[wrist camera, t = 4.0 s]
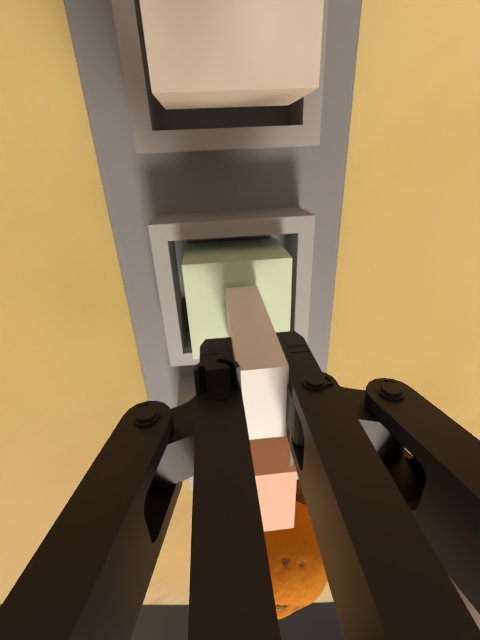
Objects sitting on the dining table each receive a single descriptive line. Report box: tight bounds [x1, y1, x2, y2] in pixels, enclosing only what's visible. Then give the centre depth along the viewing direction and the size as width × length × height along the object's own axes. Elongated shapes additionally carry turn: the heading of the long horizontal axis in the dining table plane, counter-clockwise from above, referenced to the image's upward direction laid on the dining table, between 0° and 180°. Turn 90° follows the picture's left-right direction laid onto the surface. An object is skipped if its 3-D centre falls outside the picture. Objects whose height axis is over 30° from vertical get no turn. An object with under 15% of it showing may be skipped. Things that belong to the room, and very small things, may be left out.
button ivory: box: [139, 0, 324, 110], centre depth 10 cm, size 5×5×4 cm
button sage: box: [182, 238, 292, 360], centre depth 18 cm, size 5×5×4 cm
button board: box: [64, 0, 362, 492], centre depth 19 cm, size 13×33×4 cm, turn 2°
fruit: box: [264, 500, 328, 619], centre depth 29 cm, size 10×10×8 cm
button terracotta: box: [249, 436, 297, 532], centre depth 20 cm, size 5×5×4 cm
